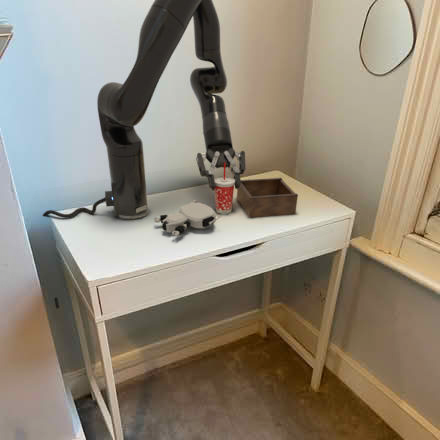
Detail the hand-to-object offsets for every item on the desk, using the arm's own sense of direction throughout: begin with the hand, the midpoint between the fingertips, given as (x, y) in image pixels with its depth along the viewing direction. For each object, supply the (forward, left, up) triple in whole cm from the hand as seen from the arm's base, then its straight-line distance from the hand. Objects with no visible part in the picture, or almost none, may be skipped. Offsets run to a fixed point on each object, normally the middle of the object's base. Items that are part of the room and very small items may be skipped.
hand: (225, 188), depth 120 cm
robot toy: (-12, -7, -8) cm, 16 cm away
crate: (+13, +3, -7) cm, 15 cm away
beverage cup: (0, +2, -8) cm, 8 cm away
